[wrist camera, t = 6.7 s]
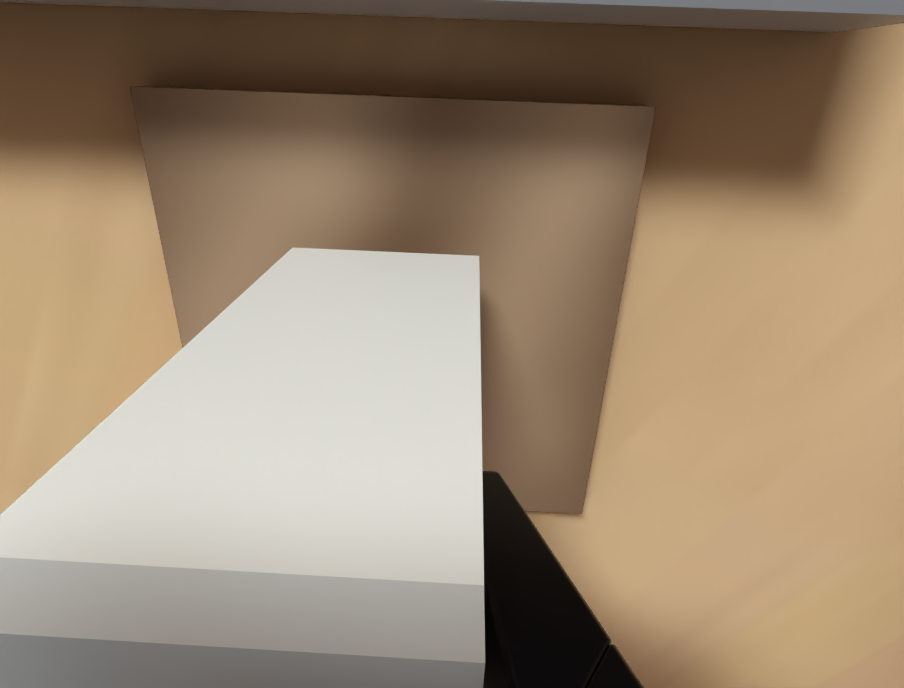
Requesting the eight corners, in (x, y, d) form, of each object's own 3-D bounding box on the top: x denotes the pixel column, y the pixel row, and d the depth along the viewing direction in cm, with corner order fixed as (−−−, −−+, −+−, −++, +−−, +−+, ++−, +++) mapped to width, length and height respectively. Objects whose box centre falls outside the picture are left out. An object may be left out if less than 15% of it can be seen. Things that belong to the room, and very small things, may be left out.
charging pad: (647, 105, 12) (655, 107, 11) (578, 500, 17) (581, 513, 16) (145, 86, 12) (129, 86, 11) (220, 480, 17) (212, 493, 16)
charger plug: (479, 256, 12) (486, 662, 4) (467, 452, 14) (455, 977, 6) (292, 247, 12) (-121, 625, 4) (311, 444, 14) (83, 949, 6)
